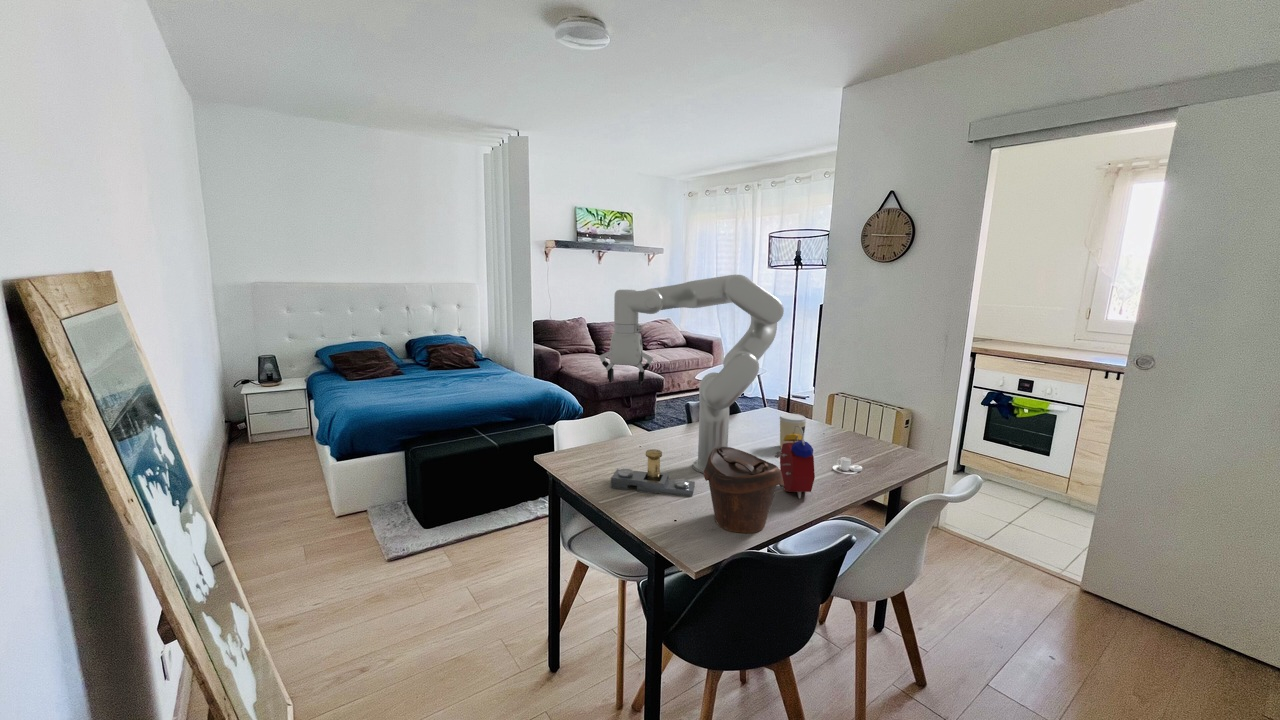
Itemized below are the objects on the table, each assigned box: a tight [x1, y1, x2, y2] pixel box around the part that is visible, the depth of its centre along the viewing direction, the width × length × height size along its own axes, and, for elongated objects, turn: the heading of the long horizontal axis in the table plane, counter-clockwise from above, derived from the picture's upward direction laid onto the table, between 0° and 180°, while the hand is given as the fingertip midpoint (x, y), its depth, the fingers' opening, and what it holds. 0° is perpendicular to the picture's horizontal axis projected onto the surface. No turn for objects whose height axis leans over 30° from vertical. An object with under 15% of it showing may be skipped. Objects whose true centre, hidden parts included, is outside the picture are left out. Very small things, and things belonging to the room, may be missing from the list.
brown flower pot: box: [703, 446, 784, 534], centre depth 129 cm, size 18×20×18 cm
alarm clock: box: [774, 426, 816, 499], centre depth 149 cm, size 15×9×20 cm, turn 179°
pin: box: [645, 448, 663, 481], centre depth 151 cm, size 5×5×11 cm
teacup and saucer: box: [832, 456, 863, 475], centre depth 167 cm, size 9×8×4 cm
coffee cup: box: [779, 413, 807, 449], centre depth 187 cm, size 9×9×12 cm
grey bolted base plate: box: [610, 468, 696, 497], centre depth 151 cm, size 24×8×4 cm, turn 78°
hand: (625, 382), depth 163 cm, fingers open, 9 cm apart
